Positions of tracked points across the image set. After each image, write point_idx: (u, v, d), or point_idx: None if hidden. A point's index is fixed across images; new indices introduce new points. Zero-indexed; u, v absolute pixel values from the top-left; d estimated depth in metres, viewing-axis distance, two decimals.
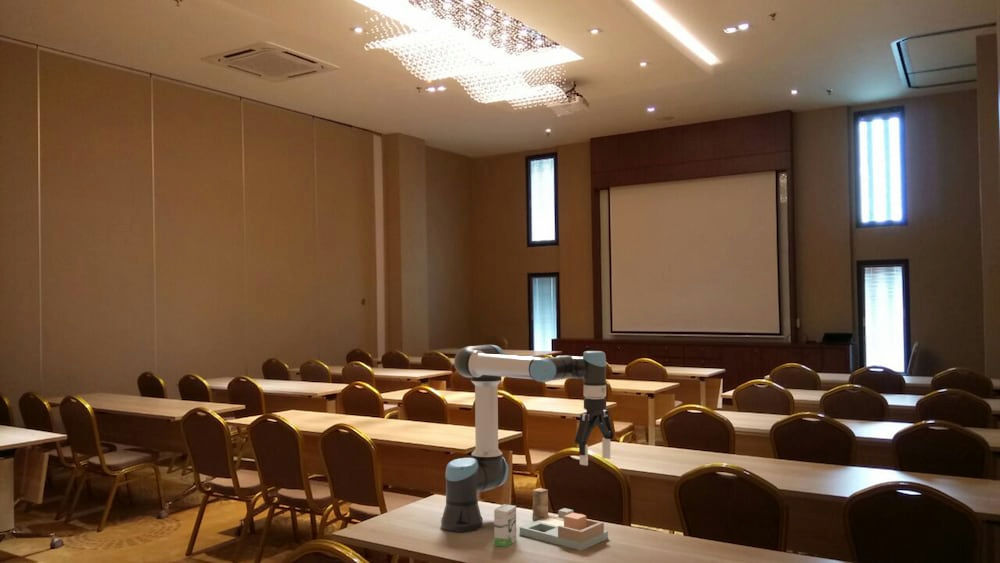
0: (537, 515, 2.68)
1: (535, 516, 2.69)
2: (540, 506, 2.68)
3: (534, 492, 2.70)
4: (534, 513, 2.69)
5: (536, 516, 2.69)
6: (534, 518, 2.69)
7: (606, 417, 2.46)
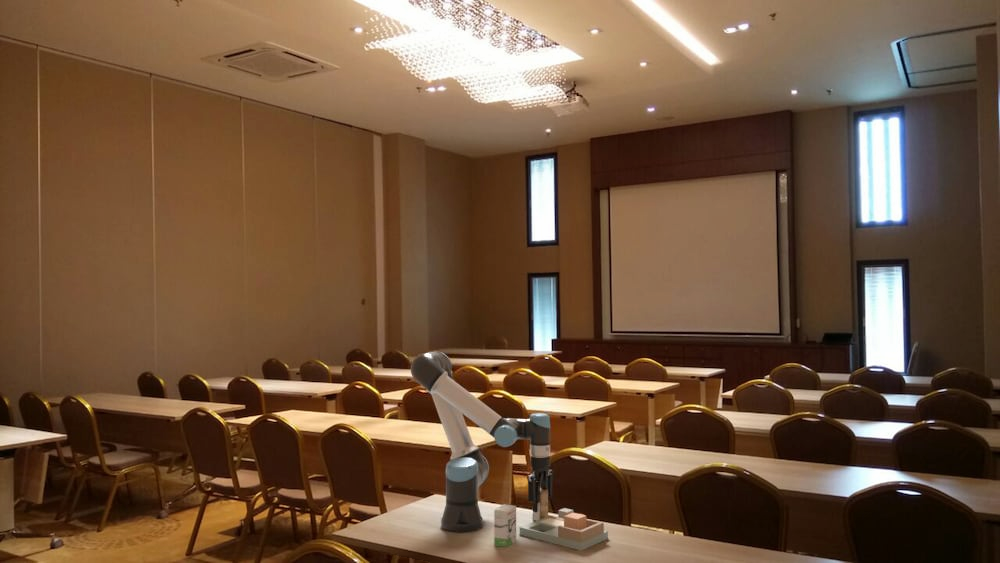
0: None
1: None
2: (540, 506, 2.68)
3: None
4: None
5: None
6: None
7: (549, 476, 2.74)
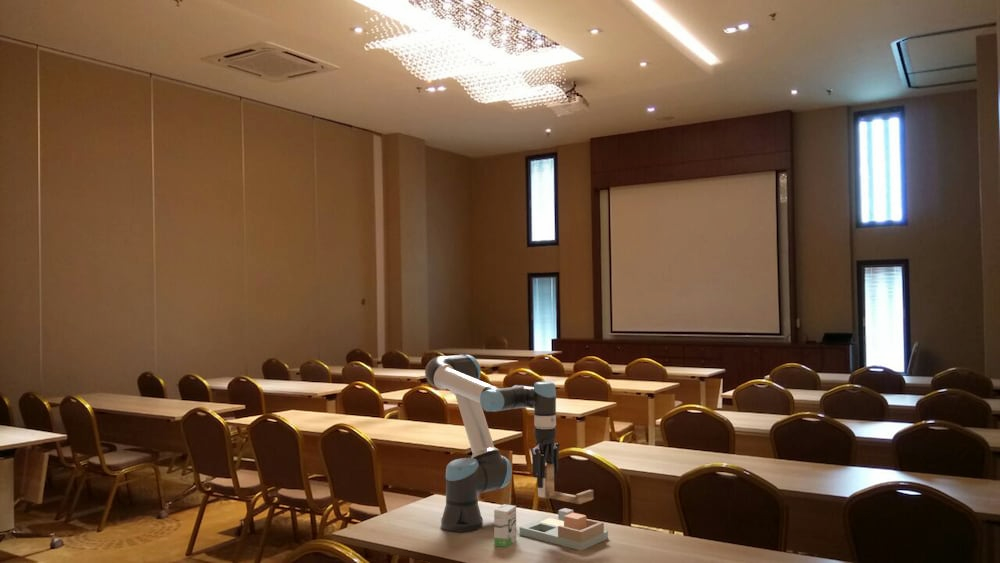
0: None
1: None
2: (546, 482, 2.47)
3: None
4: None
5: None
6: None
7: (555, 449, 2.53)
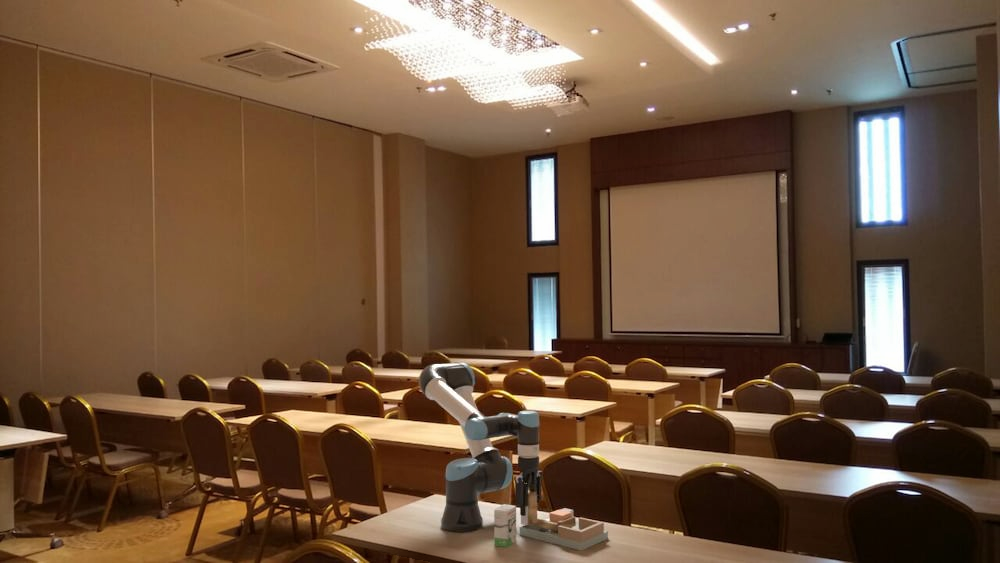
0: None
1: None
2: (528, 509, 2.52)
3: None
4: None
5: None
6: None
7: (538, 477, 2.58)
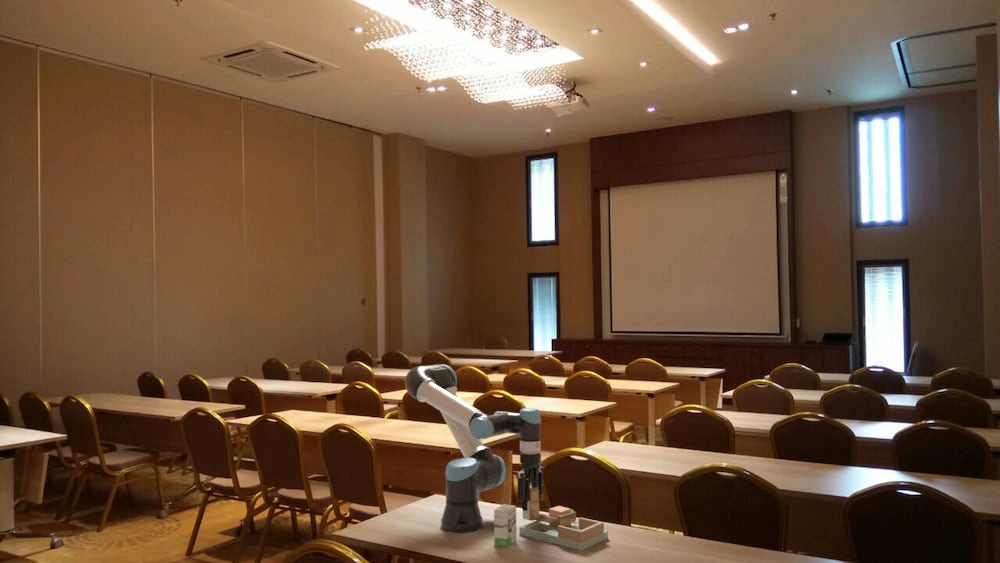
0: None
1: None
2: (530, 504, 2.58)
3: None
4: None
5: None
6: None
7: (540, 473, 2.64)
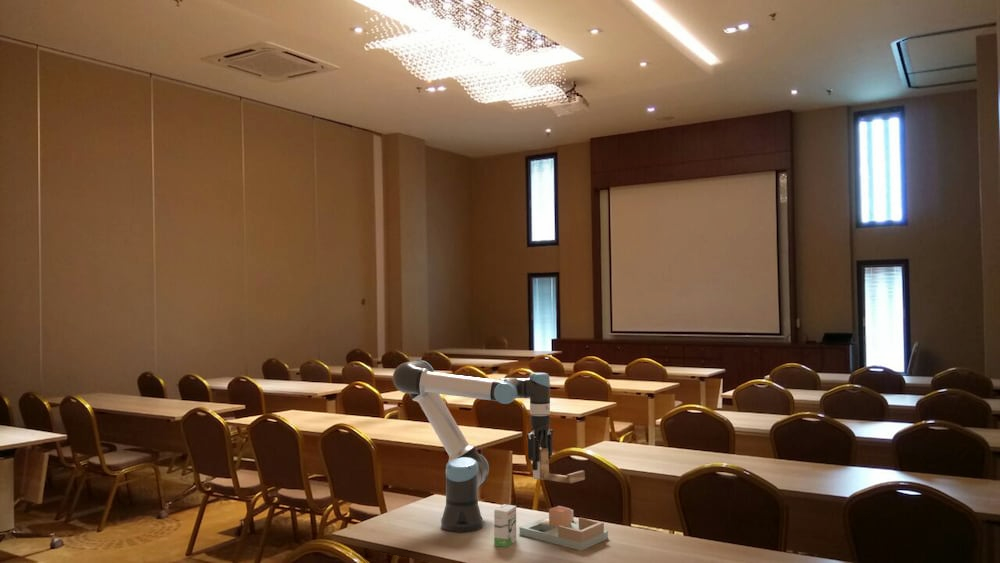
0: None
1: None
2: (540, 464, 2.68)
3: None
4: None
5: None
6: None
7: (549, 435, 2.74)
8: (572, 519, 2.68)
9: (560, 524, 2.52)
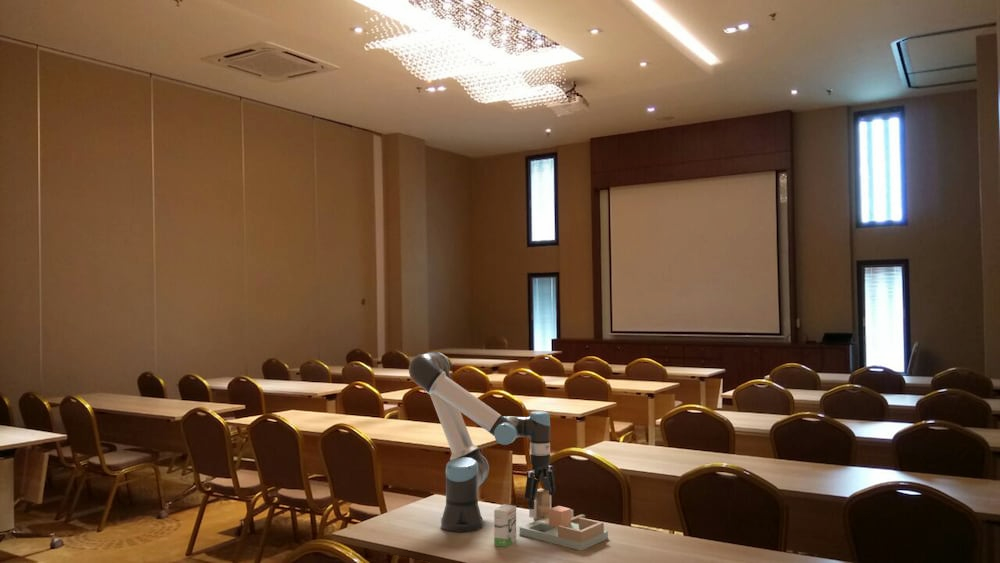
0: (538, 516, 2.68)
1: (536, 516, 2.69)
2: (541, 507, 2.67)
3: None
4: None
5: (537, 516, 2.68)
6: (535, 518, 2.69)
7: (550, 472, 2.74)
8: None
9: (560, 524, 2.52)
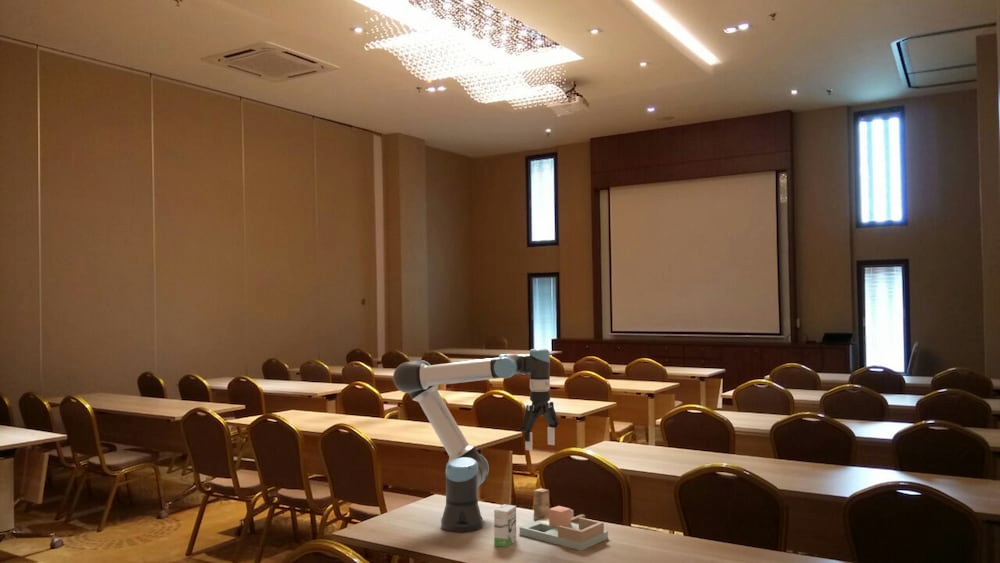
0: (538, 516, 2.68)
1: (536, 516, 2.69)
2: (541, 507, 2.67)
3: (535, 492, 2.69)
4: (535, 513, 2.69)
5: (537, 516, 2.68)
6: (535, 518, 2.69)
7: (551, 408, 2.75)
8: None
9: (560, 524, 2.52)
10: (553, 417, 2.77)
